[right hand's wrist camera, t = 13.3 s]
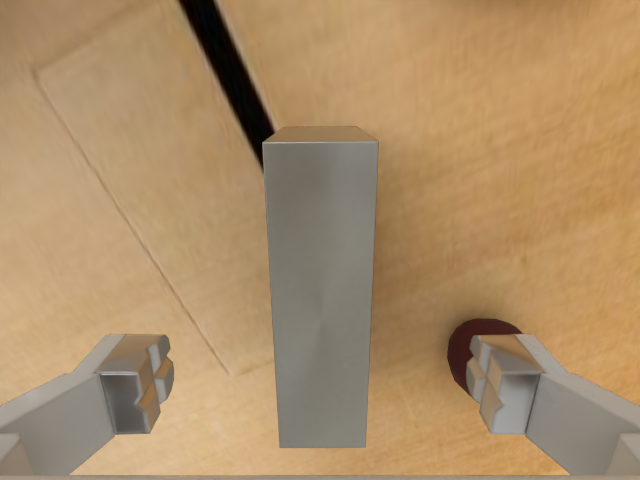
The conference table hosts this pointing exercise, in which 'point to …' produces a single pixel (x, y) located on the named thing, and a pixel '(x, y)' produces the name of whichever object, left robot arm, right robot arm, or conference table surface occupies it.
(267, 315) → the conference table surface
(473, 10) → the conference table surface
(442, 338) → the conference table surface
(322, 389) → the box
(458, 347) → the potato
